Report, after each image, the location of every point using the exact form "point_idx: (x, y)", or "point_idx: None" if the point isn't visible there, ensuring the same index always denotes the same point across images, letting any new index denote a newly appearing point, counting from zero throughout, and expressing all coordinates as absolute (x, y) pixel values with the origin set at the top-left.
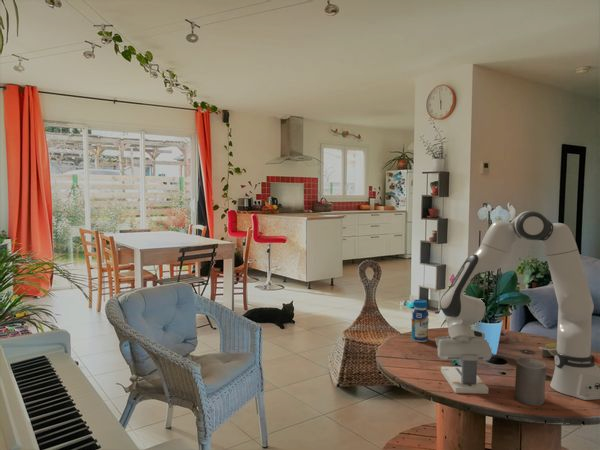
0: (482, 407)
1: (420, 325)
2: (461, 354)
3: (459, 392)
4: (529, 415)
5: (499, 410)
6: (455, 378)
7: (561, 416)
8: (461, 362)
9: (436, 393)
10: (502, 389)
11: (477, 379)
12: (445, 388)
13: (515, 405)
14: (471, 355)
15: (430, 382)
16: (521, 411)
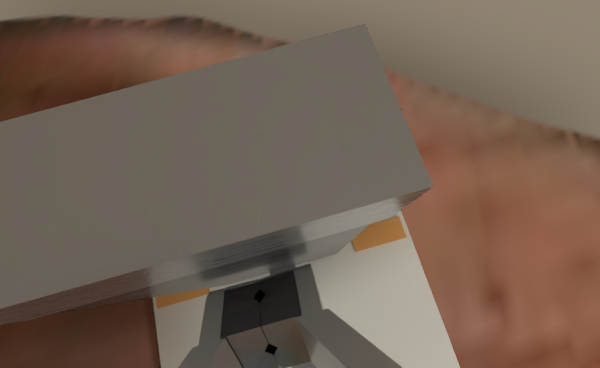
0: (226, 27)
1: None
2: (417, 171)
3: None
4: (24, 21)
5: (149, 24)
6: (387, 336)
7: None
8: (361, 346)
9: (481, 109)
10: (45, 322)
11: None
12: (438, 206)
13: (50, 102)
14: (83, 134)
15: (568, 286)
16: (45, 47)
